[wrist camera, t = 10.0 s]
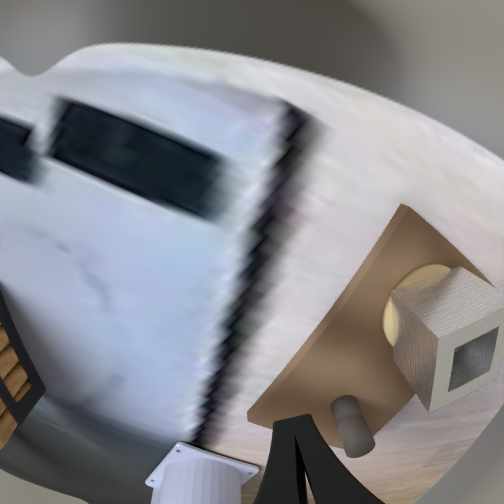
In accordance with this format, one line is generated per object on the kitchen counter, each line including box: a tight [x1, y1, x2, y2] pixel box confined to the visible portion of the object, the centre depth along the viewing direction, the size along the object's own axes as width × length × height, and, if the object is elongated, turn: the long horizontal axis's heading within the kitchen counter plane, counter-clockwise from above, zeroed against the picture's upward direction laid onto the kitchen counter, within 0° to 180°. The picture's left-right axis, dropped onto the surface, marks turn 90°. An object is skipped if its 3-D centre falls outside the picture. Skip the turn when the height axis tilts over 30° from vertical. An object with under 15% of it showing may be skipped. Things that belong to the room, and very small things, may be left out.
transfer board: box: [247, 204, 495, 458], centre depth 18 cm, size 18×11×6 cm, turn 149°
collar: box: [391, 266, 504, 413], centre depth 16 cm, size 5×5×6 cm
